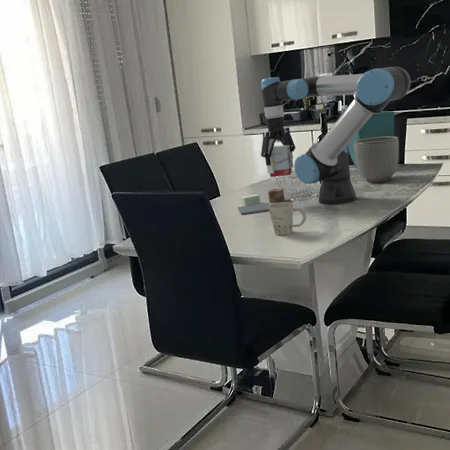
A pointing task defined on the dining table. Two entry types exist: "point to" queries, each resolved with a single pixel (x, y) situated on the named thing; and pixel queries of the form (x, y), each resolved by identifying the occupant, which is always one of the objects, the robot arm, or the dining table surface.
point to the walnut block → (276, 195)
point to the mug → (284, 217)
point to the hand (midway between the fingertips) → (280, 170)
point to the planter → (377, 158)
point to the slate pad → (254, 208)
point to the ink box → (281, 161)
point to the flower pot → (374, 130)
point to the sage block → (250, 200)
